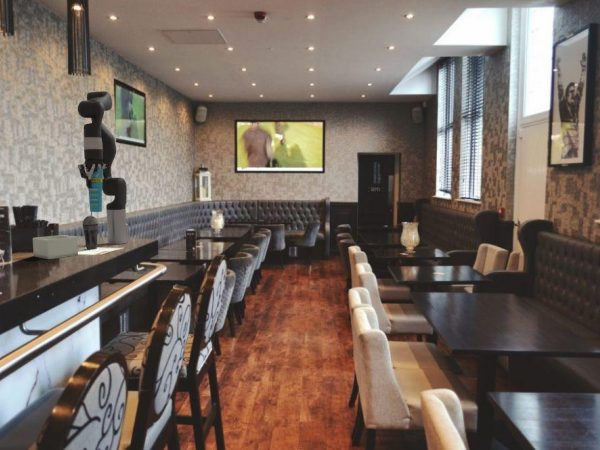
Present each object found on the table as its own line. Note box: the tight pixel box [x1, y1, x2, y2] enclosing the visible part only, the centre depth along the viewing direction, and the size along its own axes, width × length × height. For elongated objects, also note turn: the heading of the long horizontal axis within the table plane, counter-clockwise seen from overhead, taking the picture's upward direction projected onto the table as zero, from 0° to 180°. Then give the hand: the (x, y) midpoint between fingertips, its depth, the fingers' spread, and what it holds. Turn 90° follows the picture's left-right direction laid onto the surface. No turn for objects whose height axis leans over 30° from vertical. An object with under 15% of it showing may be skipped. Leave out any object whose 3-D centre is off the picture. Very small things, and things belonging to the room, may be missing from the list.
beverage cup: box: [82, 212, 99, 250], centre depth 254 cm, size 7×7×20 cm
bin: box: [32, 234, 79, 260], centre depth 234 cm, size 13×13×8 cm
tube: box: [85, 167, 103, 213], centre depth 235 cm, size 7×5×19 cm, turn 98°
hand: (95, 187), depth 234 cm, fingers closed on tube, 4 cm apart
